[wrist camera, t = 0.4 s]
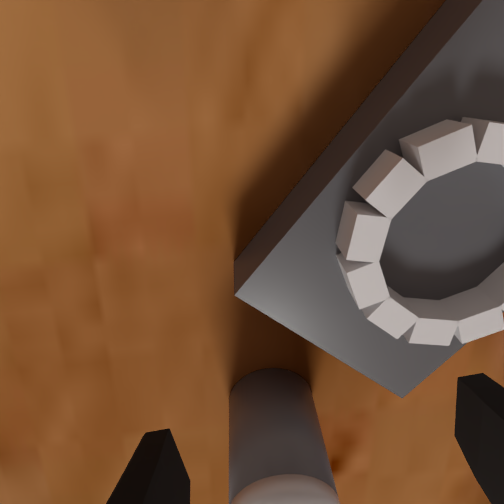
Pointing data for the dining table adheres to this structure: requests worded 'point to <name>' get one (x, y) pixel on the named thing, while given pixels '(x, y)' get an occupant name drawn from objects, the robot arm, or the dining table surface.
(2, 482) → the dining table surface
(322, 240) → the grey flange plate
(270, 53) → the dining table surface
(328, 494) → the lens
